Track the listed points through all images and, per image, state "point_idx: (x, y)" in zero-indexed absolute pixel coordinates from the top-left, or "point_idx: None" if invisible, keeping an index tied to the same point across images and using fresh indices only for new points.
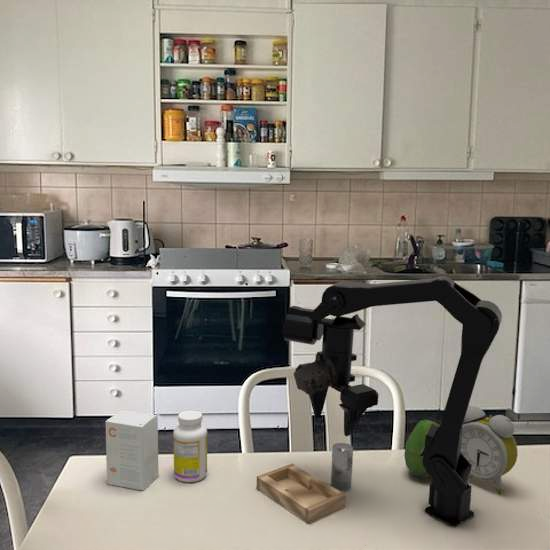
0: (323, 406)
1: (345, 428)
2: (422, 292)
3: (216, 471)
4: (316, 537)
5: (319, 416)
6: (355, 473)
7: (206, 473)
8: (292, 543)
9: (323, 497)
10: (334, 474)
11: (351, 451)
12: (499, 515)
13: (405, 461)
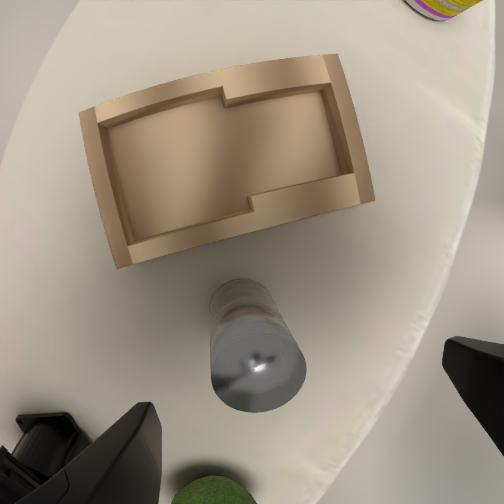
0: (475, 415)
1: (114, 432)
2: None
3: (428, 39)
4: (41, 119)
5: (445, 363)
6: None
7: (413, 4)
8: (50, 59)
9: (184, 218)
10: (237, 295)
11: (216, 392)
12: None
13: (230, 487)
